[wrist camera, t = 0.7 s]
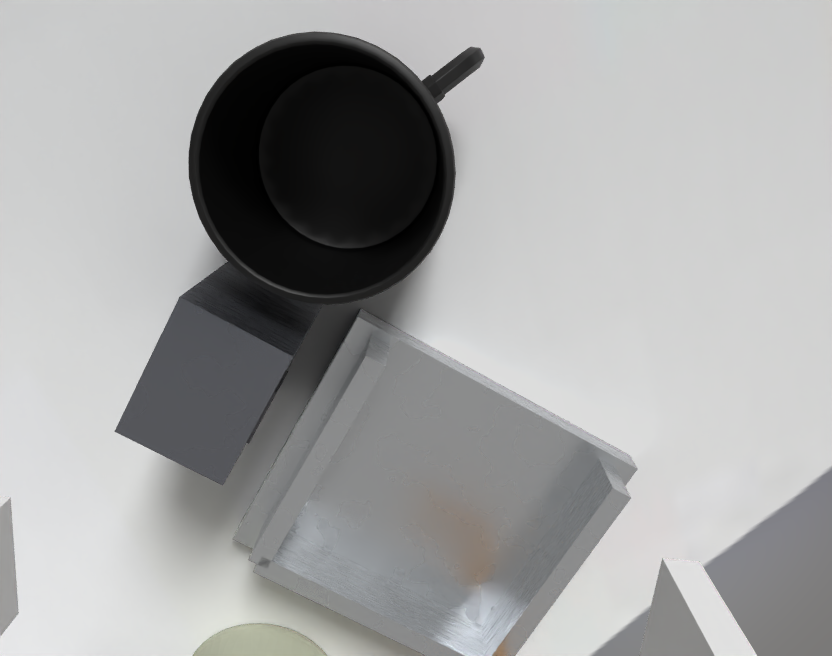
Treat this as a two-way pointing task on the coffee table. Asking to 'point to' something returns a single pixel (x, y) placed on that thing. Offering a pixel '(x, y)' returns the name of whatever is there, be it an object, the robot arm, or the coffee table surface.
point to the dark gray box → (215, 372)
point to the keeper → (431, 499)
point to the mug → (325, 165)
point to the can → (258, 642)
